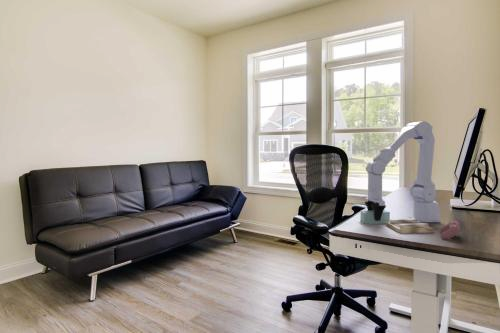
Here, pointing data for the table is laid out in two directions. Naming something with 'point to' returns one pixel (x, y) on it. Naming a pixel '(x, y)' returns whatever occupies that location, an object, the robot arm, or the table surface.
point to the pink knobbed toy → (450, 230)
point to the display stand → (409, 226)
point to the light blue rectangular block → (368, 217)
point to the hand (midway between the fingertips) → (374, 218)
